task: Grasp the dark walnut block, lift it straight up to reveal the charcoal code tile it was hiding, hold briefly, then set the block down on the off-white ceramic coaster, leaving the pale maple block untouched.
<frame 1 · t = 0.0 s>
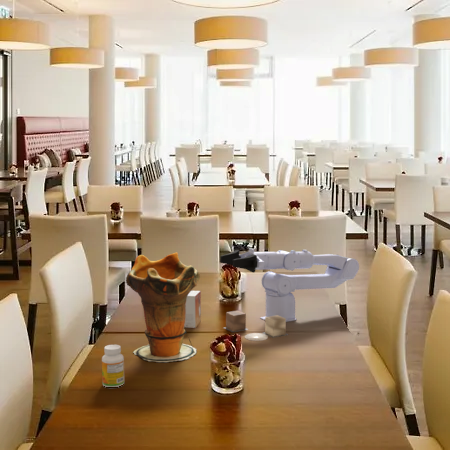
hand: (226, 261, 217), 22 cm above the table, tool horizontal, fingers open, 7 cm apart
code tile A: (235, 329, 220), on the table
code tile B: (275, 334, 214), on the table
supplement bottle: (113, 385, 173), on the table
coaster: (256, 337, 210), on the table
small box: (190, 325, 225), on the table
decorative vase: (165, 352, 197), on the table
maple block: (275, 333, 214), resting on code tile B
walnut block: (235, 328, 220), resting on code tile A
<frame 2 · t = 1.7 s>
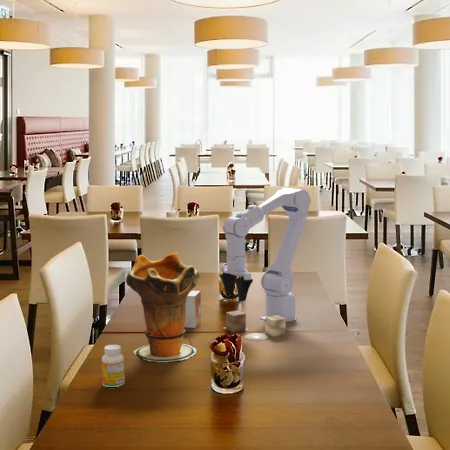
hand: (235, 298, 218), 10 cm above the table, tool pointing down, fingers open, 7 cm apart
nothing on the table moved.
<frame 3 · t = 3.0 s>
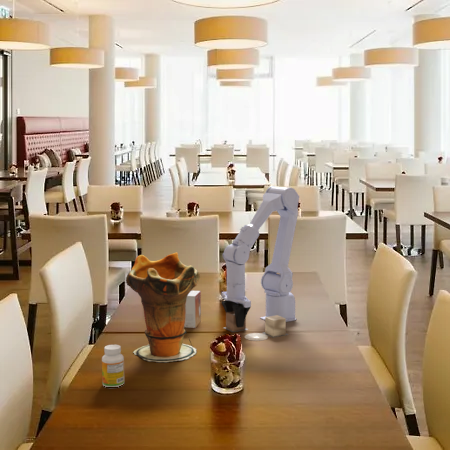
hand: (235, 324, 219), 1 cm above the table, tool pointing down, fingers closed on walnut block, 4 cm apart
walnut block: (235, 328, 220), resting on code tile A, touching gripper
everything else where it was.
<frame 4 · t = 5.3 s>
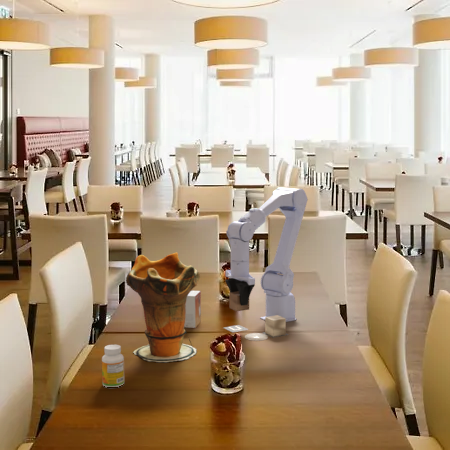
hand: (239, 303, 216), 9 cm above the table, tool pointing down, fingers closed on walnut block, 4 cm apart
walnut block: (239, 308, 217), point 7 cm above the table, touching gripper
everything else where it was.
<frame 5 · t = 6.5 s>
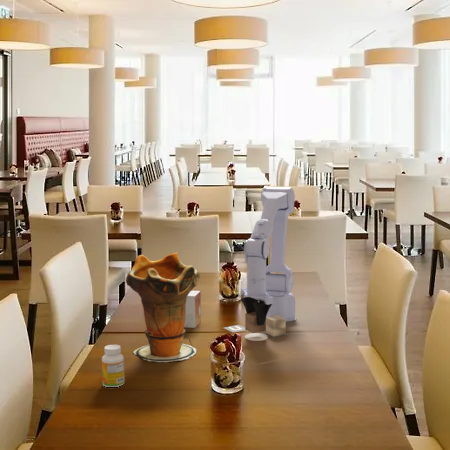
hand: (256, 322, 210), 5 cm above the table, tool pointing down, fingers closed on walnut block, 4 cm apart
walnut block: (255, 330, 210), point 2 cm above the table, touching gripper
everything else where it was.
when the fingers open (3 cm above the table, at t = 7.4 s): walnut block stays where it is, resting on coaster.
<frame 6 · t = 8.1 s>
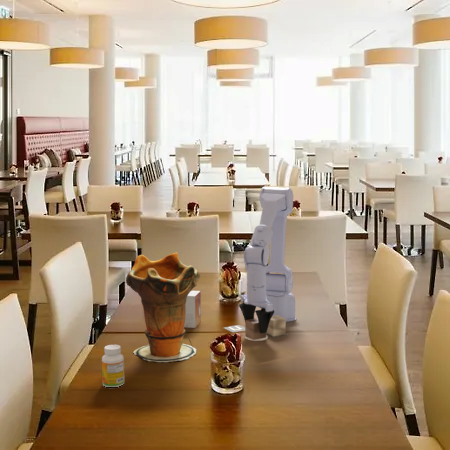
hand: (256, 329, 210), 3 cm above the table, tool pointing down, fingers open, 7 cm apart
walnut block: (255, 336, 210), resting on coaster
everything else where it was.
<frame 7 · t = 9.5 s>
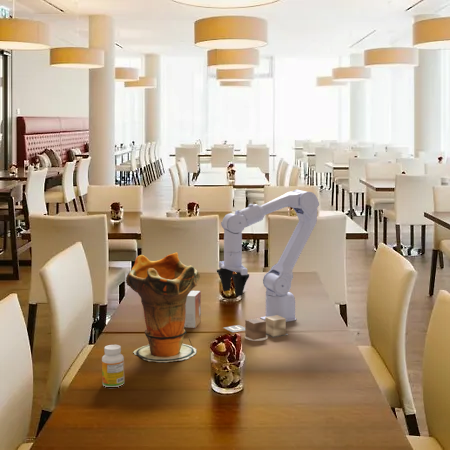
hand: (232, 293, 223), 10 cm above the table, tool pointing down, fingers open, 7 cm apart
nothing on the table moved.
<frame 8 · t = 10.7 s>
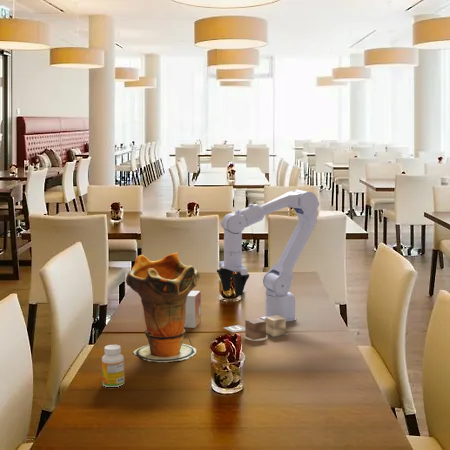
hand: (232, 293, 223), 10 cm above the table, tool pointing down, fingers open, 7 cm apart
nothing on the table moved.
at the end: walnut block inside the target area on the coaster (0.3 cm from its centre), point 0.4 cm above the coaster's base; walnut block tilted 0°; walnut block moved 11.0 cm from its start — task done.
